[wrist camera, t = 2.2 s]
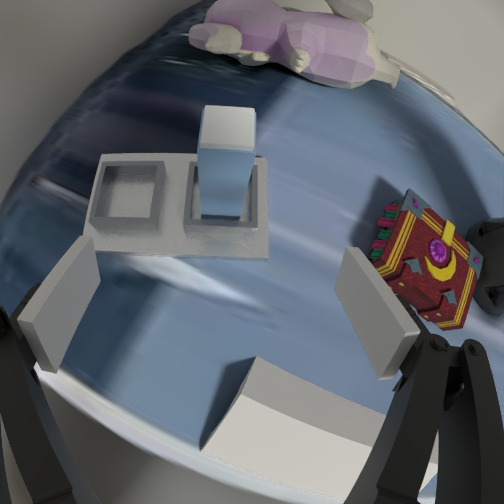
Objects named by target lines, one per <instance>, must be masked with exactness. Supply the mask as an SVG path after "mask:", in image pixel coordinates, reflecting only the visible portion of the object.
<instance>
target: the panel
mask: <svg viewBox="0 0 504 504" xmlns="http://www.w3.org/2000/svg"><path fill="white" fill-rule="evenodd" d="M83 236H93V241H94V248H95V253H97V254H116V255H137V256H158V257H180V258H203V259H227V260H251V261H267V260H268V183H267V158H259V157H255V160H254V163H253V167H252V171H251V175H250V179H249V183H248V187H247V192H246V196H245V200H244V204H243V208H242V212H241V216H240V220H236V219H216V218H201V210H200V194H199V177H198V158H197V154H185V153H123V154H102V155H101V158H100V162H99V165H98V169H97V173H96V176H95V180H94V184H93V188H92V193H91V197H90V201H89V206H88V210H87V215H86V220H85V226H84V231H83Z"/></svg>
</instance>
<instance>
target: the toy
mask: <svg viewBox="0 0 504 504" xmlns="http://www.w3.org/2000/svg"><path fill="white" fill-rule="evenodd" d="M325 1H326V2H327V3H328V5H329V6H330V8H331V9H332V11H333V13H334V14H330V13H320V12H295V11H286V10H285V9H283V8H282V7H280V6H279V5H277V4H276V3H274V2H273V1H271V0H218V1H216V2H215V3H214V4H213V5H212V6H211V7H210V8H209V9H208V11H207V14H206V18H205V21H204V24H197V25H194V26H192V27H191V29H190V31H189V36H188V37H189V42H190V44H191V45H193V46H195V47H197V48H199V49H202V50H207V51H210V52H212V53H215V54H225V55H228V56H231V57H233V58H236V59H237V60H238V61H239V62H240V63H241V64H242V65H249V66H257V65H262V64H265V63H268V62H277V63H279V64H281V65H283V66H285V67H287V68H289V69H291V70H292V71H294V72H296V73H297V74H299V75H301V76H303V77H305V78H307V79H309V80H311V81H313V82H317V83H321V84H324V85H328V86H332V87H339V88H348V89H352V88H355V87H358V86H361V85H363V84H365V83H366V82H368V81H369V80H371V79H373V80H378V81H382V82H386V83H388V85H389V87H390V88H391V89H395V87H396V85H397V82H398V80H399V77H400V68H399V65H397V64H395V63H393V62H392V61H390V60H389V59H388V56H387V54H385V53H383V52H381V51H380V50H379V45H378V41H377V39H376V37H375V34H374V31H373V29H372V28H370V27H369V26H367V25H366V24H365V22H366V21H368V20H369V19H371V18H372V16H373V5H372V3H371V2H370V1H369V0H325Z"/></svg>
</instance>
